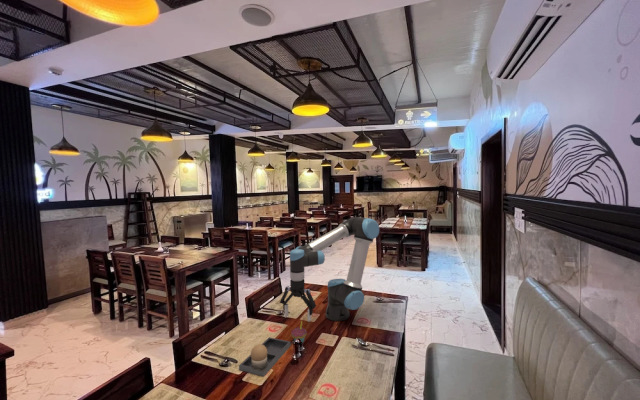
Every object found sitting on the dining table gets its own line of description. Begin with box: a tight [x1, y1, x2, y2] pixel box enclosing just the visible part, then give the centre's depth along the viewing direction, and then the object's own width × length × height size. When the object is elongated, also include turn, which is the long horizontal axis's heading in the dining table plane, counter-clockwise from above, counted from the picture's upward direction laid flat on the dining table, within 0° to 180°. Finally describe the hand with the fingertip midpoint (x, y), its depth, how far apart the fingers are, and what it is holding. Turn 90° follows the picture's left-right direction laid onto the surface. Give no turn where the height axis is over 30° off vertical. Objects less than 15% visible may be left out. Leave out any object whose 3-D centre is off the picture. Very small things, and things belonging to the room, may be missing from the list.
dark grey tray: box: [238, 337, 292, 377], centre depth 134 cm, size 13×25×3 cm, turn 158°
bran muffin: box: [250, 343, 268, 369], centre depth 128 cm, size 8×8×9 cm
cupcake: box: [290, 320, 308, 344], centre depth 148 cm, size 9×8×12 cm
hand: (297, 318), depth 148 cm, fingers open, 13 cm apart
